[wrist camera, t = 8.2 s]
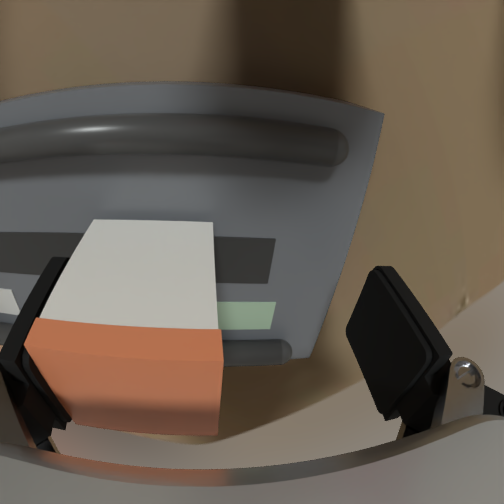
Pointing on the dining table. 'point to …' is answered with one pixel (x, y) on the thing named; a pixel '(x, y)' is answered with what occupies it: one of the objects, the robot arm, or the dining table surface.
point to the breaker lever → (135, 329)
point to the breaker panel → (194, 193)
